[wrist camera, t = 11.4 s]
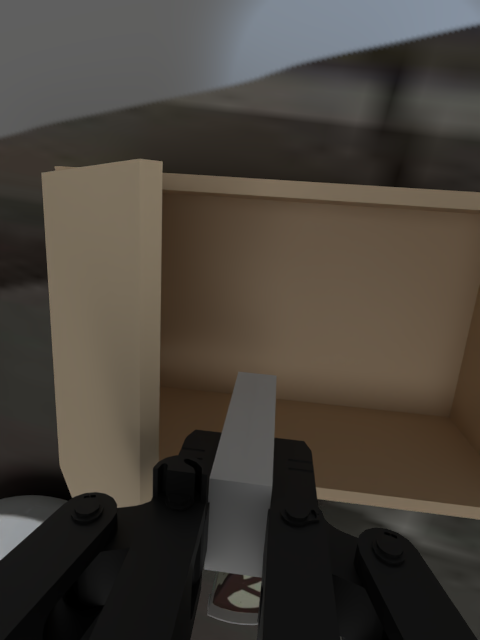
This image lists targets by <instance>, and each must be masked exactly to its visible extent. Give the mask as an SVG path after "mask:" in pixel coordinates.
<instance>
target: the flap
mask: <svg viewBox="0 0 480 640" xmlns="http://www.w3.org/2000/svg"><path fill="white" fill-rule="evenodd" d="M162 169H163V162H162V161H154V160H146V159H134V160H127V161H120V162H113V163H106V164H100V165H93V166H86V167H79V168H72V169H65V170H58V171H52V172H45V173H42V189H43V205H44V221H45V238H46V254H47V270H48V286H49V302H50V318H51V334H52V350H53V366H54V382H55V398H56V414H57V430H58V446H59V462H60V468H61V471H62V473H63V476H64V478H65V481H66V484H67V486H68V489H69V491H70V494H71V496H72V498H73V497H75V496H78V495H81V494H84V493H91V492H99V493H105V494H107V495H109V496H111V497H113V498H114V500H115V502H116V503H117V508H121V507H130V506H136V505H141V504H144V503H147V502H149V501H151V499H152V497H153V467H154V466H155V465H156V464H157V463H158V462H159V397H160V321H161V245H162Z"/></svg>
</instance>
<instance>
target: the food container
mask: <svg viewBox="0 0 480 640" xmlns="http://www.w3.org/2000/svg"><path fill="white" fill-rule="evenodd" d="M261 582H262V578H261V577H254V576H247V575H240V574H233V573H226V572H219V571H217V573H216V577H215V582H214V586H213V591H212V594H209V600H208V614H207V615H209V616H211V617H213V618H216V619H218V620H222V621H225V622H229V623H234V624H240V625H258V622H257V619H258V610H259V601H260V591H261Z"/></svg>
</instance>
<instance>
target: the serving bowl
mask: <svg viewBox="0 0 480 640" xmlns="http://www.w3.org/2000/svg"><path fill="white" fill-rule="evenodd" d="M66 502H67V500H63V499H60V498H55V497H49V496H42V495H23V496H14V497H8V498H4V499H0V560H1V559H2V558H4V557H5V556H6V555H7V554H8V553H9V552H10V551H11V550H13V549H14V548H15V547H16V546H17V545H18V544H19V543H20V542H22V541H23V540H24V539H25V538H26V537H27V536H28V535H29V534H31V533H32V532H33V531H34V530H35V529H36V528H37V527H38V526H40V525H41V524H42V523H43V522H44V521H45V520H46V519H47V518H48V517H50V516H51V515H52V514H53V513H54V512H55V511H56V510H57V509H59V508H60V507H61V506H62V505H63V504H64V503H66Z"/></svg>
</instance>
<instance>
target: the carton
mask: <svg viewBox="0 0 480 640" xmlns="http://www.w3.org/2000/svg"><path fill="white" fill-rule="evenodd" d="M72 168H77V167H61V166H55V171H58V170H65V169H72ZM238 372H247V373H256V374H266V375H275V376H277V379H276V405H275V431H274V438H282V439H291V440H299V441H304V442H305V443H306V444H307V446H308V447H309V448H310V450H311V451H312V458H313V467H314V475H315V484H316V492H317V499H322V500H330V501H338V502H346V503H354V504H362V505H370V506H378V507H386V508H393V509H401V510H409V511H417V512H425V513H433V514H441V515H449V516H457V517H465V518H473V519H480V192H465V191H449V190H433V189H417V188H400V187H384V186H368V185H352V184H336V183H320V182H304V181H287V180H271V179H255V178H239V177H223V176H207V175H191V174H174V173H162V245H161V321H160V397H159V461H161V460H163V459H165V458H167V457H171V456H175V455H178V454H179V452H180V450H181V448H182V445H183V443H184V440H185V438H186V437H187V436H188V435H189V434H191V433H192V432H193V431H194V430H204V431H213V432H221V433H222V430H223V427H224V423H225V419H226V416H227V412H228V408H229V405H230V401H231V397H232V393H233V390H234V386H235V382H236V379H237V375H238Z"/></svg>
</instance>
